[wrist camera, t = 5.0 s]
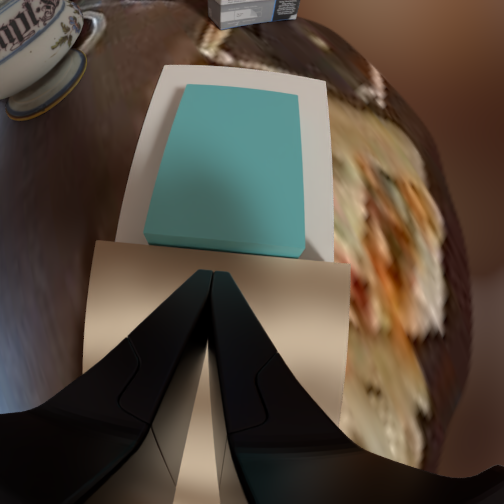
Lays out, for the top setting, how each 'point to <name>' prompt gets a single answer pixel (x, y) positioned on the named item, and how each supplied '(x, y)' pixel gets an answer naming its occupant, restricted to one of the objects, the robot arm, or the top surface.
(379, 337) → the top surface
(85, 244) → the top surface
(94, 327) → the plate
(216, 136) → the teal flat block
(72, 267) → the top surface
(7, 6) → the apothecary jar
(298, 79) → the mat
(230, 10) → the label tape box
